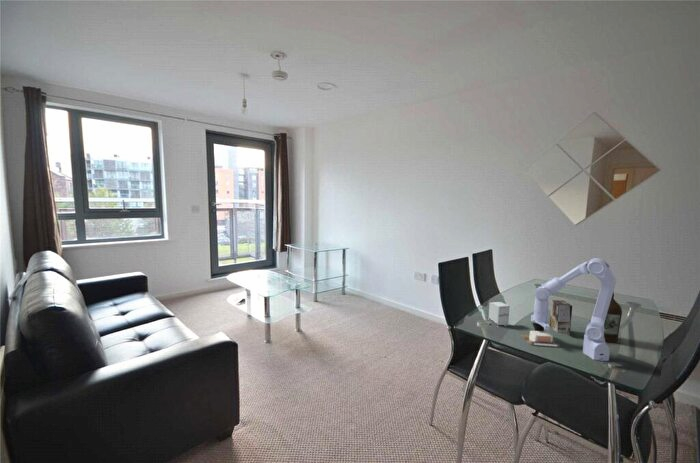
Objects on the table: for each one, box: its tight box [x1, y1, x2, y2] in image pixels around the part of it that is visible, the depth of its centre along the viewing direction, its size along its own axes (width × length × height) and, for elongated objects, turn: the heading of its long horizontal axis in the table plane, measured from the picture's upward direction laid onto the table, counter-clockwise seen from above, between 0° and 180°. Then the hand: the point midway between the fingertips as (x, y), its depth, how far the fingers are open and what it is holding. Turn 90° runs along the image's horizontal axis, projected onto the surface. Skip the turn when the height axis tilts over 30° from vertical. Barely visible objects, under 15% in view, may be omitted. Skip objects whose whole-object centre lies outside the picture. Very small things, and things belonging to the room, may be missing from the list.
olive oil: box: [604, 291, 623, 344], centre depth 154 cm, size 11×11×25 cm
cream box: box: [528, 330, 554, 343], centre depth 146 cm, size 5×8×4 cm, turn 88°
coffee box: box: [549, 299, 573, 337], centre depth 161 cm, size 9×6×16 cm
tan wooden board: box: [519, 333, 561, 348], centre depth 148 cm, size 12×13×2 cm
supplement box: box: [488, 301, 511, 327], centre depth 169 cm, size 7×7×13 cm
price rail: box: [530, 341, 561, 348], centre depth 143 cm, size 1×12×2 cm, turn 82°
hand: (538, 338), depth 149 cm, fingers closed, pressing on cream box
